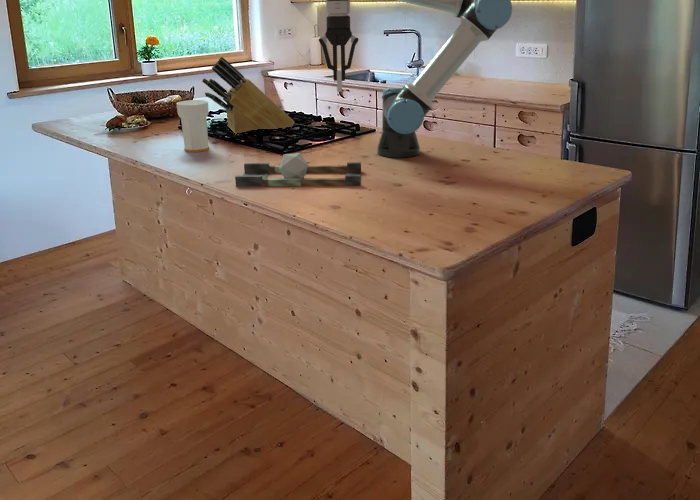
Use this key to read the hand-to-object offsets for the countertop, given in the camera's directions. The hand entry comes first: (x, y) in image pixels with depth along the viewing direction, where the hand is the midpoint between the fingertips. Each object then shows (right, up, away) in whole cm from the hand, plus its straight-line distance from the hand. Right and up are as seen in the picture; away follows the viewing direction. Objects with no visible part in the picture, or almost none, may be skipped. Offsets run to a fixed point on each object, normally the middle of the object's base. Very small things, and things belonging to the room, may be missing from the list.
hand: (339, 91), depth 227 cm
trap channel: (-12, -29, -8) cm, 33 cm away
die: (-14, -30, -9) cm, 34 cm away
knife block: (-38, -3, +61) cm, 72 cm away
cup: (-54, -15, +32) cm, 64 cm away
